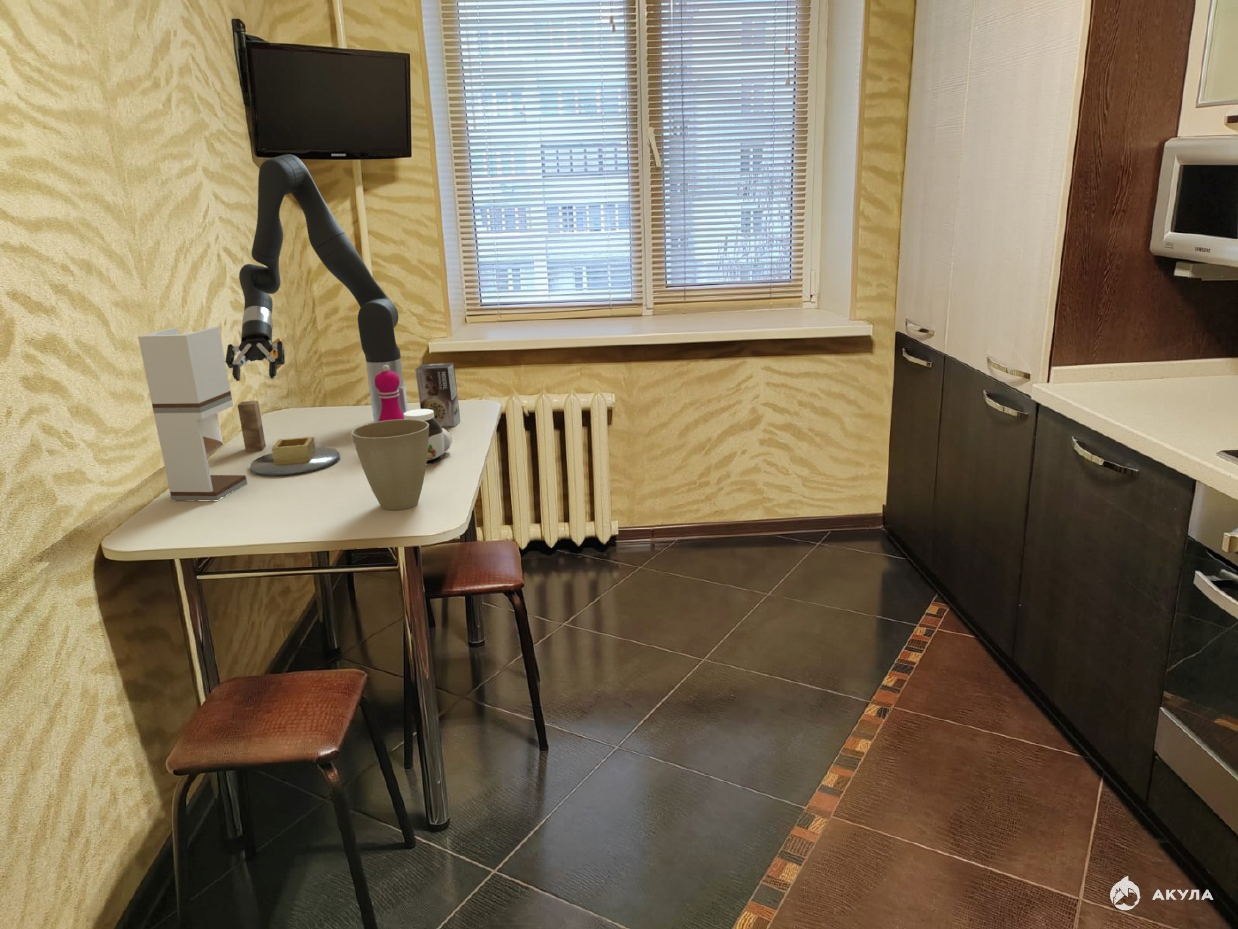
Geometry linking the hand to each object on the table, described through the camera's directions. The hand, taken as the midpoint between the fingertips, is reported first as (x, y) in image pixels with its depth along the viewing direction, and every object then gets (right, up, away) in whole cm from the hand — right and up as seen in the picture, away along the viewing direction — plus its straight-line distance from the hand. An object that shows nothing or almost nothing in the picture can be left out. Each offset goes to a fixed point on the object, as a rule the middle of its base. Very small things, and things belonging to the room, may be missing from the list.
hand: (254, 378), depth 234 cm
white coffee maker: (+5, -29, -37) cm, 47 cm away
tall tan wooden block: (+2, -18, -5) cm, 19 cm away
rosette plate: (+18, -22, -19) cm, 34 cm away
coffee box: (+46, -12, +11) cm, 49 cm away
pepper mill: (+38, -17, -6) cm, 42 cm away
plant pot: (+50, -30, -51) cm, 77 cm away
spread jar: (+49, -21, -20) cm, 57 cm away
